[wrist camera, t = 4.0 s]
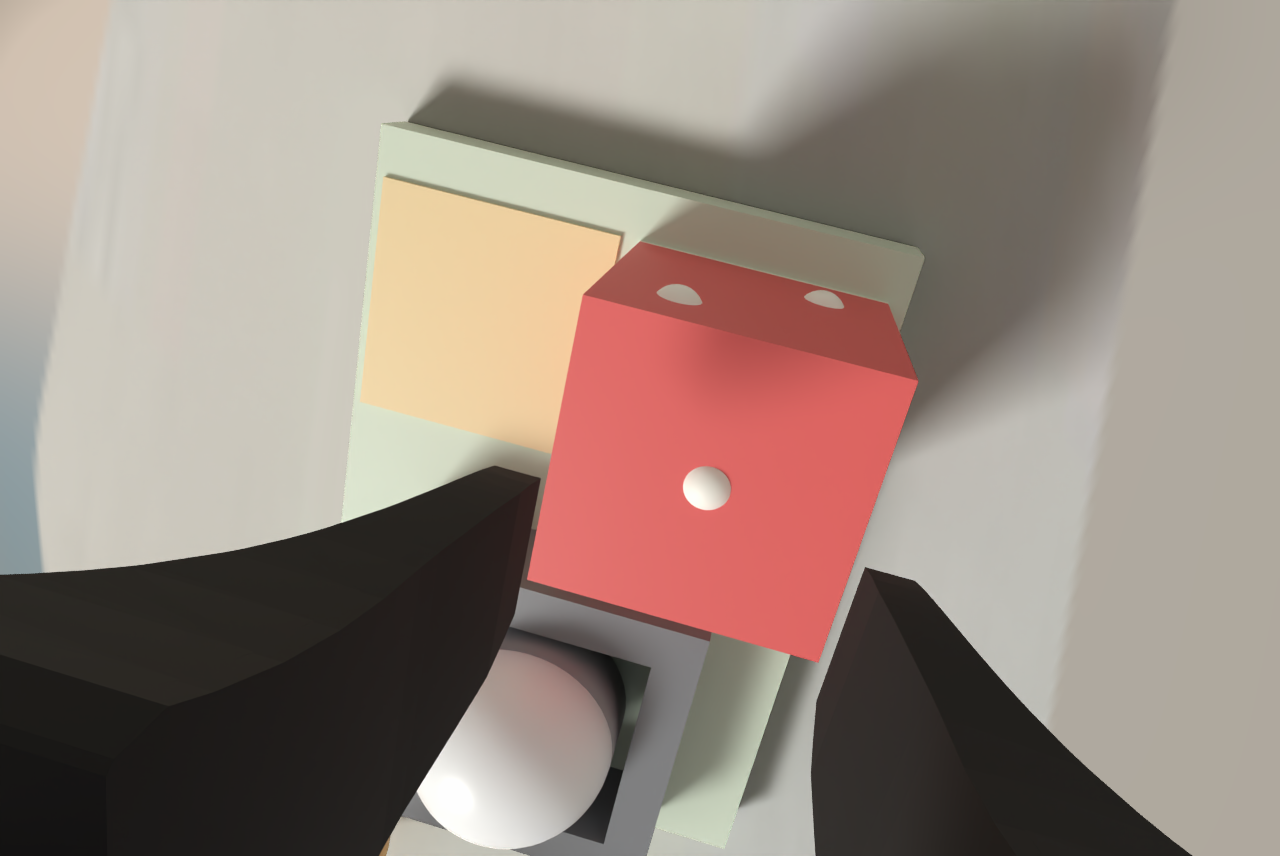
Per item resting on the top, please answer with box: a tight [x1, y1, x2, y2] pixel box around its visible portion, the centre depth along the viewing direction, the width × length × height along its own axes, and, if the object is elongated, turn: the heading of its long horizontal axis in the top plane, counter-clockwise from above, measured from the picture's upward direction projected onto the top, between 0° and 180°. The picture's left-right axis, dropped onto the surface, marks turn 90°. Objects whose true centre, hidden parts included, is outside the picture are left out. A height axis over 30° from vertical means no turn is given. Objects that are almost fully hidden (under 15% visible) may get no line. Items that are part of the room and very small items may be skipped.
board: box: [341, 122, 925, 849], centre depth 21 cm, size 16×11×1 cm
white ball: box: [417, 627, 626, 849], centre depth 19 cm, size 4×4×4 cm
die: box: [527, 241, 918, 662], centre depth 16 cm, size 5×5×5 cm
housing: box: [402, 529, 712, 856], centre depth 21 cm, size 7×7×2 cm
